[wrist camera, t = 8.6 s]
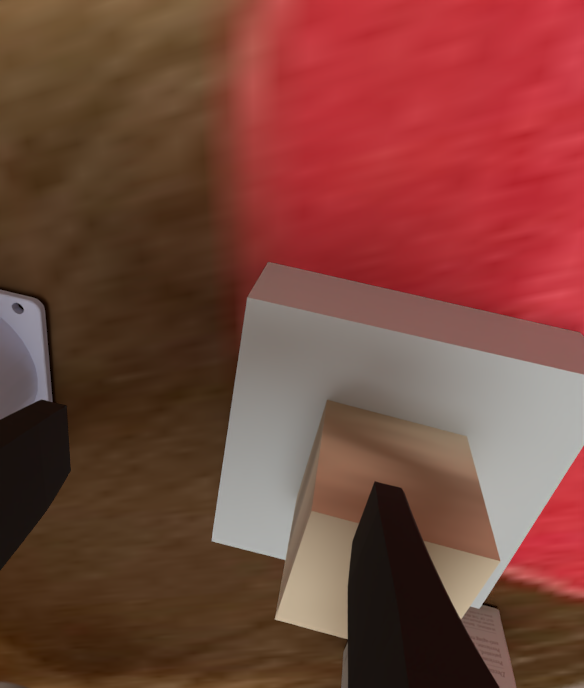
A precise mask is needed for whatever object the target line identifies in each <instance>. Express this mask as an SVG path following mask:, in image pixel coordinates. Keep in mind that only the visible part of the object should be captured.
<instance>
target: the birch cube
mask: <svg viewBox="0 0 584 688" xmlns="http://www.w3.org/2000/svg"><path fill="white" fill-rule="evenodd" d="M374 481H376V482H380V483H384V484H388V485H392V486H396V487H400V488H402V489H403V491H404V493H405V495H406V498H407V501H408V503H409V506H410V509H411V511H412V514H413V517H414V519H415V522H416V524H417V527H418V529H419V532H420V534H421V536H422V539H423V541H424V544H425V546H426V548H427V550H428V553H429V555H430V557H431V560H432V562H433V564H434V566H435V568H436V570H437V572H438V575H439V577H440V579H441V581H442V583H443V585H444V588H445V590H446V592H447V594H448V596H449V598H450V600H451V602H452V604H453V606H454V608H455V609H456V611H457V613H458V615H459V617H460V619H462V617H463V616H464V614H465V613H466V612H467V610H468V609H469V607H470V606H471V604H472V603H473V601H474V600H475V598H476V597H477V595H478V594H479V592H480V591H481V589H482V588H483V586H484V585H485V584H486V582H487V581H488V579H489V578H490V576H491V575H492V573H493V572H494V570H495V569H496V567H497V566H498V564H499V563H500V557H499V553H498V550H497V546H496V542H495V539H494V535H493V531H492V528H491V524H490V520H489V516H488V513H487V509H486V505H485V502H484V498H483V494H482V491H481V487H480V483H479V479H478V476H477V472H476V468H475V465H474V461H473V457H472V454H471V450H470V446H469V442H468V439H467V436H464V435H460V434H456V433H452V432H448V431H445V430H441V429H437V428H433V427H429V426H426V425H422V424H418V423H414V422H410V421H406V420H403V419H399V418H395V417H391V416H387V415H383V414H380V413H376V412H372V411H368V410H364V409H361V408H357V407H353V406H349V405H345V404H341V403H338V402H334V401H330V400H327V401H326V405H325V408H324V411H323V414H322V418H321V421H320V424H319V427H318V430H317V434H316V437H315V440H314V443H313V447H312V450H311V453H310V456H309V460H308V463H307V466H306V469H305V473H304V476H303V479H302V482H301V485H300V489H299V492H298V495H297V499H296V504H295V510H294V515H293V521H292V527H291V532H290V538H289V543H288V549H287V554H286V560H285V566H284V571H283V577H282V582H281V588H280V593H279V599H278V605H277V610H276V616H275V619H276V620H279V621H283V622H286V623H290V624H294V625H297V626H301V627H305V628H308V629H312V630H316V631H319V632H323V633H327V634H330V635H334V636H338V637H341V638H345V639H348V578H349V567H350V558H351V549H352V541H353V538H354V535H355V533H356V530H357V527H358V525H359V522H360V519H361V517H362V514H363V511H364V508H365V506H366V503H367V500H368V498H369V495H370V492H371V490H372V487H373V484H374Z"/></svg>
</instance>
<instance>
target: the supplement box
mask: <svg viewBox="0 0 584 688" xmlns="http://www.w3.org/2000/svg"><path fill="white" fill-rule="evenodd" d="M461 621H462V623H463V625H464V627H465V629H466V630H467V632H468V634H469V636H470V638H471V639H472V641H473V643H474V645H475V647H476V648H477V650H478V652H479V654H480V655H481V657H482V659H483V661H484V662H485V664H486V665H487V667H488V669H489V670H490V672H491V674H492V675H493V677H494V679H495V680H496V682H497V684H498V685H499V687H500V688H516V683H515V679H514V675H513V670H512V666H511V661H510V656H509V653H508V648H507V644H506V640H505V636H504V631H503V627H502V623H501V618H500V613H499V610H498V609H496V608H493V607H489V606H485V605H482V606H481V607H480V609H478V608H474V607H469V609H468V610H467V612H466V613H465V614H464V616H463V617H462V619H461ZM341 688H348V642H347V645H346V647H345V650H344V653H343V670H342V685H341Z"/></svg>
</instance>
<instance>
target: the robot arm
mask: <svg viewBox="0 0 584 688" xmlns="http://www.w3.org/2000/svg"><path fill="white" fill-rule="evenodd" d="M18 303H19V304H20V305H21V306H22V307H23V309H24V310H23V309H21V308H20V307H19V305H18ZM70 471H71V468H70V452H69V437H68V421H67V406H66V405H62V404H58V403H54V402H53V401H52V388H51V376H50V364H49V352H48V340H47V327H46V315H45V308H44V306H43V304H42V303H41V302H40V301H39V300H38V299H36V298H33V297H29V296H25V295H21V294H17V293H12V292H8V291H4V290H0V570H1V569H2V568H3V566H4V565H5V564H6V562H7V561H8V560H9V559H10V557H11V556H12V555H13V554H14V552H15V551H16V550H17V548H18V547H19V546H20V545H21V543H22V542H23V541H24V539H25V538H26V537H27V536H28V534H29V533H30V532H31V530H32V529H33V528H34V527H35V525H36V524H37V523H38V521H39V520H40V519H41V517H42V516H43V515H44V513H45V512H46V511H47V509H48V508H49V506H50V505H51V503H52V501H53V500H54V498H55V496H56V495H57V493H58V492H59V490H60V488H61V486H62V485H63V483H64V481H65V480H66V478H67V476H68V474H69V473H70ZM348 688H500V687H499V685H498V684H497V682H496V680H495V679H494V677H493V675H492V674H491V672H490V670H489V669H488V667H487V665H486V664H485V662H484V661H483V659H482V657H481V655H480V654H479V652H478V650H477V648H476V647H475V645H474V643H473V641H472V639H471V638H470V636H469V634H468V632H467V630H466V629H465V627H464V625H463V623H462V621H461V619H460V617H459V615H458V613H457V611H456V609H455V608H454V606H453V604H452V602H451V600H450V598H449V596H448V594H447V592H446V590H445V588H444V585H443V583H442V581H441V579H440V577H439V575H438V572H437V570H436V568H435V566H434V564H433V562H432V560H431V557H430V555H429V553H428V550H427V548H426V546H425V544H424V541H423V539H422V536H421V534H420V532H419V529H418V527H417V524H416V522H415V519H414V517H413V514H412V511H411V509H410V506H409V503H408V501H407V498H406V495H405V493H404V491H403V489H402V488H400V487H396V486H392V485H388V484H384V483H380V482H376V481H374V484H373V487H372V490H371V492H370V495H369V498H368V500H367V503H366V506H365V508H364V511H363V514H362V517H361V519H360V522H359V525H358V527H357V530H356V533H355V535H354V538H353V541H352V549H351V558H350V567H349V578H348Z"/></svg>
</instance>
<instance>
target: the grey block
mask: <svg viewBox="0 0 584 688" xmlns="http://www.w3.org/2000/svg"><path fill="white" fill-rule="evenodd" d="M327 400H330V401H334V402H338V403H341V404H345V405H349V406H353V407H357V408H361V409H364V410H368V411H372V412H376V413H380V414H383V415H387V416H391V417H395V418H399V419H403V420H406V421H410V422H414V423H418V424H422V425H426V426H429V427H433V428H437V429H441V430H445V431H448V432H452V433H456V434H460V435H464V436H467V439H468V442H469V446H470V450H471V454H472V457H473V461H474V465H475V468H476V472H477V476H478V479H479V483H480V487H481V491H482V494H483V498H484V502H485V505H486V509H487V513H488V516H489V520H490V524H491V528H492V531H493V535H494V539H495V542H496V546H497V550H498V553H499V557H500V563H499V564H498V566H497V567H496V569H495V570H494V572H493V573H492V575H491V576H490V578H489V579H488V581H487V582H486V584H485V585H484V586H483V588H482V589H481V591H480V592H479V594H478V595H477V597H476V598H475V600H474V601H473V603H472V604H471V606H470V607H474V608H478V609H480V607H481V606H482V604H483V603H484V601H485V599H486V598H487V596H488V595H489V593H490V592H491V590H492V588H493V587H494V585H495V584H496V582H497V581H498V579H499V577H500V576H501V574H502V573H503V571H504V570H505V568H506V566H507V565H508V563H509V562H510V560H511V559H512V557H513V555H514V554H515V552H516V551H517V549H518V548H519V546H520V544H521V543H522V541H523V540H524V538H525V537H526V535H527V533H528V532H529V530H530V529H531V527H532V526H533V524H534V522H535V521H536V519H537V518H538V516H539V515H540V513H541V511H542V510H543V508H544V507H545V505H546V504H547V502H548V501H549V499H550V497H551V496H552V494H553V493H554V491H555V490H556V488H557V486H558V485H559V483H560V482H561V480H562V479H563V477H564V475H565V474H566V472H567V471H568V469H569V468H570V466H571V464H572V463H573V461H574V460H575V458H576V457H577V455H578V453H579V452H580V450H581V449H582V447H583V446H584V336H583V335H582V334H581V333H580V332H576V331H571V330H567V329H562V328H558V327H554V326H549V325H545V324H540V323H536V322H532V321H527V320H523V319H518V318H514V317H510V316H505V315H501V314H496V313H492V312H488V311H483V310H479V309H474V308H470V307H466V306H461V305H457V304H452V303H448V302H443V301H439V300H435V299H430V298H426V297H421V296H417V295H413V294H408V293H404V292H399V291H395V290H391V289H386V288H382V287H377V286H373V285H369V284H364V283H360V282H355V281H351V280H347V279H342V278H338V277H333V276H329V275H325V274H320V273H316V272H311V271H307V270H302V269H298V268H294V267H289V266H285V265H280V264H276V263H272V262H268V263H267V265H266V266H265V268H264V270H263V271H262V273H261V275H260V277H259V278H258V280H257V282H256V283H255V285H254V287H253V288H252V290H251V292H250V293H249V295H248V297H247V303H246V310H245V316H244V323H243V330H242V337H241V344H240V350H239V357H238V364H237V371H236V378H235V384H234V391H233V398H232V405H231V412H230V418H229V425H228V432H227V439H226V446H225V452H224V459H223V466H222V473H221V480H220V486H219V493H218V500H217V507H216V514H215V520H214V527H213V534H212V541H213V542H217V543H221V544H225V545H229V546H233V547H236V548H240V549H244V550H248V551H252V552H256V553H260V554H264V555H268V556H272V557H276V558H280V559H284V560H286V554H287V549H288V543H289V538H290V532H291V527H292V521H293V515H294V510H295V504H296V499H297V495H298V492H299V489H300V485H301V482H302V479H303V476H304V473H305V469H306V466H307V463H308V460H309V456H310V453H311V450H312V447H313V443H314V440H315V437H316V434H317V430H318V427H319V424H320V421H321V418H322V414H323V411H324V408H325V405H326V401H327Z"/></svg>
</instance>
